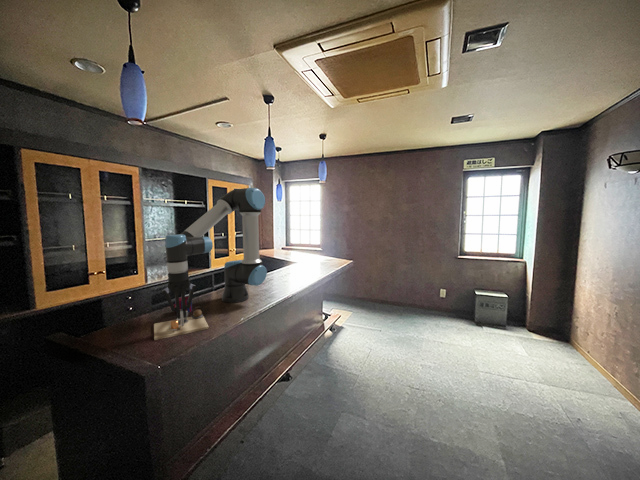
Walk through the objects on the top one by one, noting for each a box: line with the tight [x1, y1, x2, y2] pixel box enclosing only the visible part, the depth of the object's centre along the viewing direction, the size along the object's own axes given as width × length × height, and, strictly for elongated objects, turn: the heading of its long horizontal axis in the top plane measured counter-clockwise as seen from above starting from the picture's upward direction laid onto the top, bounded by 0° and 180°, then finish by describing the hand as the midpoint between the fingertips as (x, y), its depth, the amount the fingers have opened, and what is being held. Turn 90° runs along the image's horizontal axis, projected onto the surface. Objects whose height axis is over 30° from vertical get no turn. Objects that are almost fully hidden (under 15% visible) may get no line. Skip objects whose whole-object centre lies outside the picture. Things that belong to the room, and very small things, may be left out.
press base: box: [153, 309, 210, 341], centre depth 112 cm, size 20×16×5 cm
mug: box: [173, 296, 193, 314], centre depth 129 cm, size 7×10×7 cm
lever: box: [170, 311, 189, 330], centre depth 112 cm, size 3×16×4 cm, turn 11°
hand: (182, 325), depth 109 cm, fingers closed
